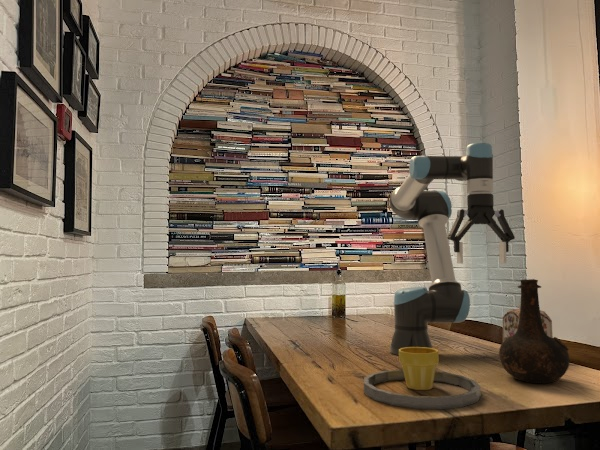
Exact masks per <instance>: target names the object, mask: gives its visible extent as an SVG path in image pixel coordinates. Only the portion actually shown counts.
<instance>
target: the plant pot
mask: <svg viewBox="0 0 600 450" xmlns="http://www.w3.org/2000/svg"><path fill="white" fill-rule="evenodd" d="M439 354H440V353H439V350H438V349H436V348H434V347H433V348H427V347H405V348H401V349H399V355H398V359H399V360H398V361H399V363H400V364H401V367H402V368H401V369H402V370H403V372H404V376H405V379H404V380H405V384H406V387H407V388H409V389H410V390H416V391H428V390H431V389H433V387H434V386H433V385H434V382H435V381H434V375H435V371H436V368H437V365H438V364H439V361H440V358H439Z"/></svg>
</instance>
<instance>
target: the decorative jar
mask: <svg viewBox="0 0 600 450" xmlns="http://www.w3.org/2000/svg"><path fill="white" fill-rule="evenodd" d="M520 306H521V303H520V304H518V308H512V309H509V310H507V311H506V313H504V315H503V316H502V343H503V342H504V341H505V340H506V339H507V338H509V337H511V336H513V335H514V334H515V333H516V332H517V329H518V324H519V318H520ZM540 314H541V320H542V325H543V328H544V331H545V333H546V334H547V336H549V337H551V338H554V336H553V321H552V318H551V317H550V316H549V314H548V313H546V311H544V310H541V309H540Z"/></svg>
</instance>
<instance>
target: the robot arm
mask: <svg viewBox="0 0 600 450" xmlns="http://www.w3.org/2000/svg"><path fill="white" fill-rule="evenodd" d="M493 154H494V153H493V146H492V144H491V143H489V142H474V143H469V144H468V145H467V146H466V151H465V155H464V156H463V155H462V156H461V155H458V156H457V155H455V156H453V155H449V156H448V155H415V156H413V157H411V158H410V160H409V161H410V162H409V165H408V166H409V167H408V171H409V174H408V176H407V177H406V179H405V180H404V181H403V182H402V184H401V185H400V186H399V187H397V188H395V189H394V190H393V192H392V193H391V194H390V197H389V206H390V208H391V210H392V212H393V213H394V214H395V215H396V216H397V217H399V218H401V219H403V220H404V219H405V220H416V221H417V223H418V226H419V227H420V228H422V231H423V235H424V236H423V237H424V241H425V248H426V249H425V250H426V256H427V261H428V268H429V275H430V279H431V284H430V285H429V286H428V288H427V287H426V286H412V287H411V286H410V287H406V288H401V289H398V290H396V291H395V292H394V298H393V299H394V300H393V305H394V306H393V307H394V309H393V310H394V311H393V313H394V332H393V335H392V338H391V343H390V345H389V352H390V354H393V355H396V356H399V349H401V348H405V347H427V348H433V349H434V347H433V344H432V341H431V340H432V339H431V337H430V334H429V332H428V324H448V323H449V324H455V323H456V324H457V323H462V322H465V320H467V318H468V316H469V312H470V307H471V299H470V294H469V293H468V291H467V290H465V289H462V286H461V283H460V282H458V281H457V280H456V276H455V275H456V274H455V270H454V264H453V261H452V253H451V249H450V243H449V241H452V242H453V252H454V253H456V264H464V256H463V255H464V250H463V249H464V247H463V246H464V245H463V242H464V241H462V239H463V237H464V236H465V235H466V234H467V233H468V231H469V230H470V229H471V228H472V227H473V225H488V226H489V228H491V229H492V231H493V232H494V233H495V235H497V237H498V238H499V240H500V241H499V242H498V243H499V244H498V248H499V249H498V250H499V264H507V253H509V251H510V250H509V248H510V247H509V242H510V241H513V240H515V238H516V236H515V235H514V233H513V231H512V228H511V227H510V225H509V223H508V221H507V218H506V217H505V211H504V209H497V210H494V203H495V202H494V195H493V194H492V193H494V177H493V176H494V174H493V173H494V172H493V171H494V166H493V165H494V159H493V157H494V155H493ZM433 180H456V181H459V182H463V181H466V193H467V194H468V195H467V198H466V199H467V202H466V203H467V209H466V210H465V209H463V208H460V209H458V210H457V212H456V213H457V214H456V218H455V220H454V221H453V222H454V223H453V225H452V226H451V228H450V231H449V232H448V231H447V227H446V224H447V223H448V222H449V219H450V218H451V216H452V212H453V210H452V207H453V205H452V202H451V198H450V195H448V193H446V191H443V190H435V189H434V190H426V189H427V187H429V185H430V184H431V183H432V182H433ZM466 216H467V217H468V219H467V220H466V222H465V223H464V224H463V226H462V227H461V228H460V226H461V224H462V223H463V222H464V221H463V220H464V218H465V217H466ZM494 216H495V217H496V218H497V221H498V223H499V224H500V226H499V225H498V223H497V222H496V220H495V219H494ZM459 229H460V230H459Z"/></svg>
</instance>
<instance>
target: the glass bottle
mask: <svg viewBox="0 0 600 450" xmlns="http://www.w3.org/2000/svg"><path fill="white" fill-rule="evenodd" d="M538 282H539V280H538V279H535V278H532V279H531V278H530V279H529V278H527V279H526V278H525V279H521V280H520V285H517V288H518V289H520V304H521V306H520V318H519V324H518V329H517V332H516V333H515V334H514V335H513V336H511V337H509V338H507V339H506V340H505V341H504V342H503V341H502V343H501V344H500V347H499V350H498V358H499V361H500V363H501V366H502V367H503V369H504V370H505V371H506V372H507V374H509V375H510V376H511V377H513V378H514V379H516V380H519V381H522V382H526V383H530V384H532V383H533V384H548V383H553V382H557V381H558V380H560V379H561V378H563V377H564V375H565V374H566V373H567V371H568V370H569V366H570V355H569V348H568V346H567V345H566V344H564V343H563V342H562V340H560V339H559V338H558V337H556V336H553V338H551V337H549V336H547V334H546V333H545V331H544V328H543V325H542V320H541V314H540V310H541V309H540V301H539V291H538V290H539V289H540V288H542V286H541V285H539V284H538Z"/></svg>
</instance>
